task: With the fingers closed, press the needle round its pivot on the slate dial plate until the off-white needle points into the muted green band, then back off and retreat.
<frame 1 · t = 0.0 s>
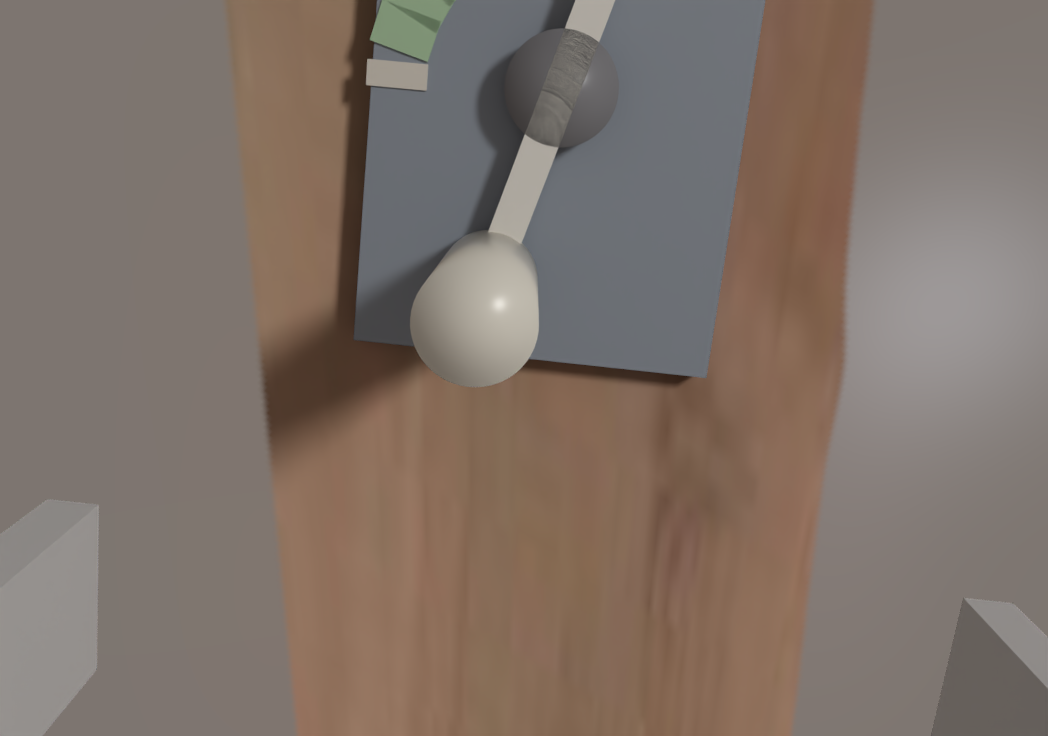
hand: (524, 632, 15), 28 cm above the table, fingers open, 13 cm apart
dial plate: (559, 91, 40), on the table
needle: (557, 101, 34), point 7 cm above the table, hinge at -15.0°
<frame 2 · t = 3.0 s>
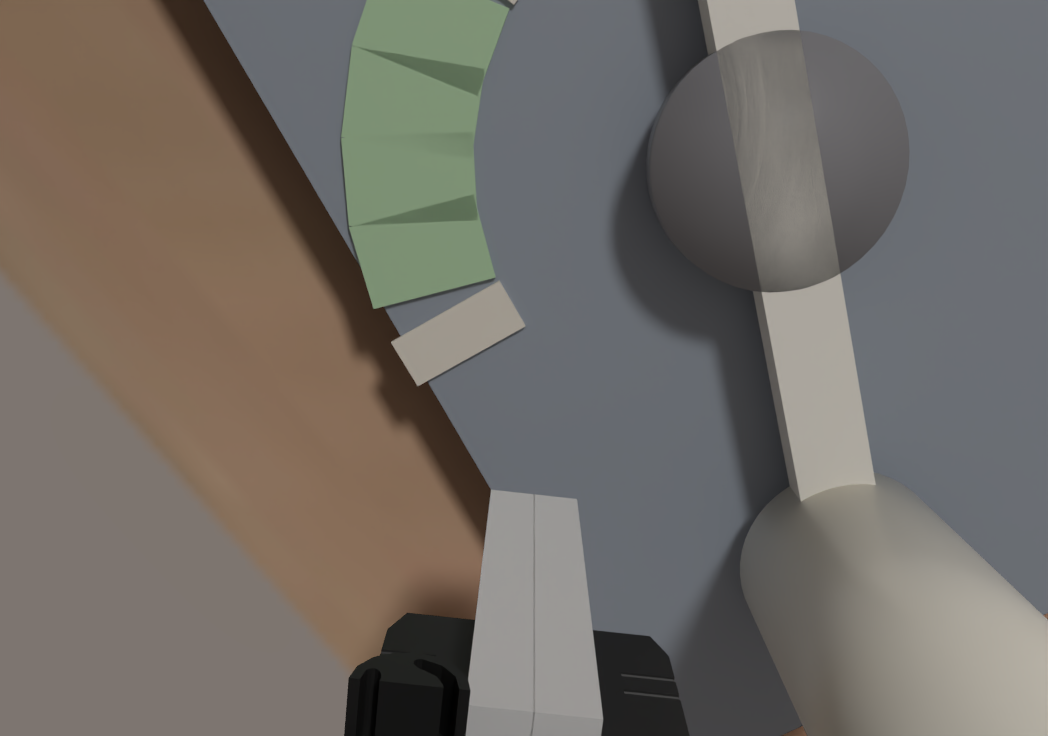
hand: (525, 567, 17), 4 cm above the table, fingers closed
dial plate: (748, 160, 19), on the table
needle: (868, 225, 13), point 7 cm above the table, hinge at -15.0°
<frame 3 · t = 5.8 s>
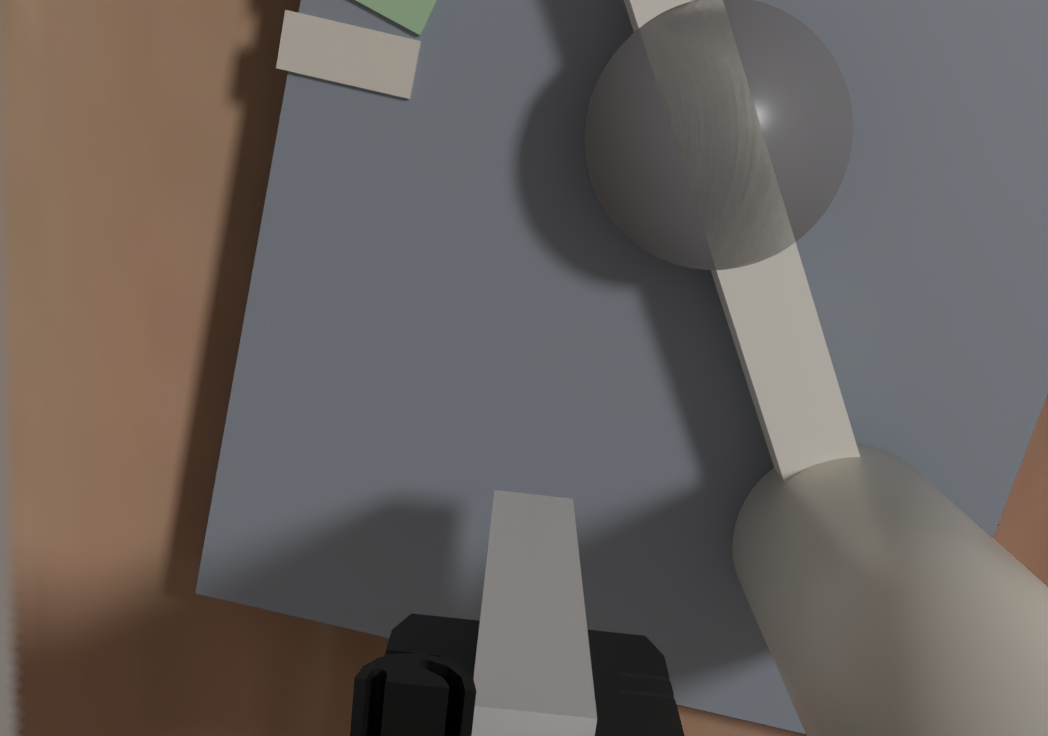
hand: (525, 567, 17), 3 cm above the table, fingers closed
dial plate: (696, 138, 19), on the table
needle: (792, 186, 12), point 7 cm above the table, hinge at 33.6°, touching hand
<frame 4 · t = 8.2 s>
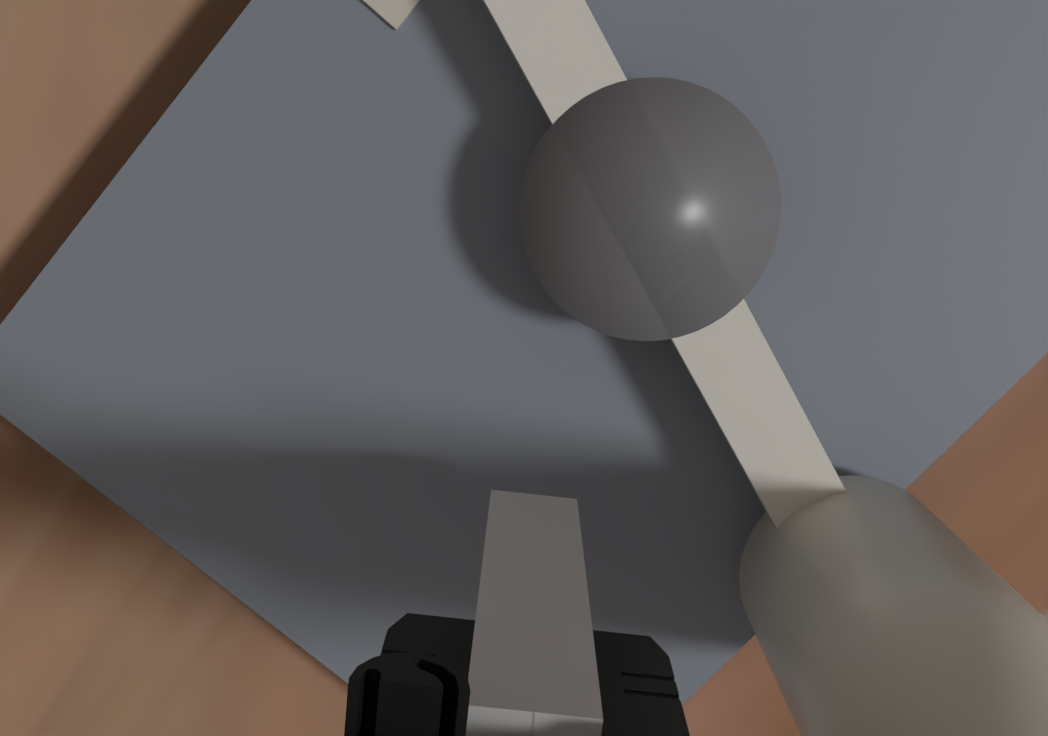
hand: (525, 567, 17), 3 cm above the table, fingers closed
dial plate: (634, 203, 19), on the table
needle: (713, 281, 12), point 7 cm above the table, hinge at 71.6°
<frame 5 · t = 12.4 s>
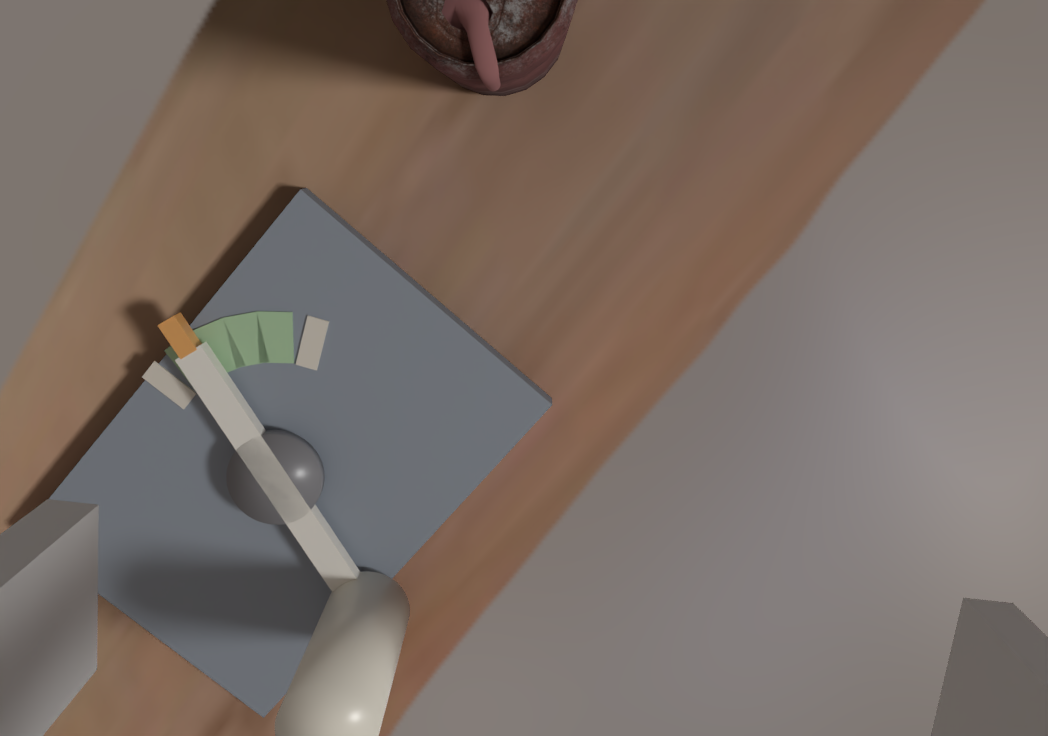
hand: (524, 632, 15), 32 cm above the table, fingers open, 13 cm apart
dial plate: (287, 462, 48), on the table
needle: (256, 526, 41), point 7 cm above the table, hinge at 71.6°
can: (497, 28, 43), on the table
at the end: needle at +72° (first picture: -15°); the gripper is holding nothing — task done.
